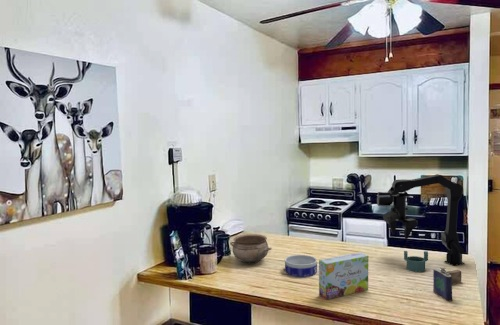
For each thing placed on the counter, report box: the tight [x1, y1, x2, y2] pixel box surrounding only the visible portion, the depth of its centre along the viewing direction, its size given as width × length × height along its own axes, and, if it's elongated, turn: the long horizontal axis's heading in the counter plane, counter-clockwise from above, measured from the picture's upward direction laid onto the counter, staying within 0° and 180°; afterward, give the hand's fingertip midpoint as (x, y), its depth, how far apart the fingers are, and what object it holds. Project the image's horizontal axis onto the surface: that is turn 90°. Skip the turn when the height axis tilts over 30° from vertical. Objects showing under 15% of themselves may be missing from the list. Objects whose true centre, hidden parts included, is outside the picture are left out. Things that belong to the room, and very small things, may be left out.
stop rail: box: [446, 269, 462, 285], centre depth 163 cm, size 12×2×5 cm, turn 107°
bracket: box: [403, 250, 429, 273], centre depth 181 cm, size 9×9×9 cm
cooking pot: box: [229, 233, 273, 265], centre depth 200 cm, size 25×19×12 cm
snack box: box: [318, 252, 369, 301], centre depth 157 cm, size 21×6×15 cm, turn 114°
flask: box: [432, 267, 453, 302], centre depth 151 cm, size 10×3×12 cm, turn 8°
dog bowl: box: [284, 254, 318, 278], centre depth 183 cm, size 15×15×6 cm
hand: (399, 236), depth 190 cm, fingers open, 9 cm apart
